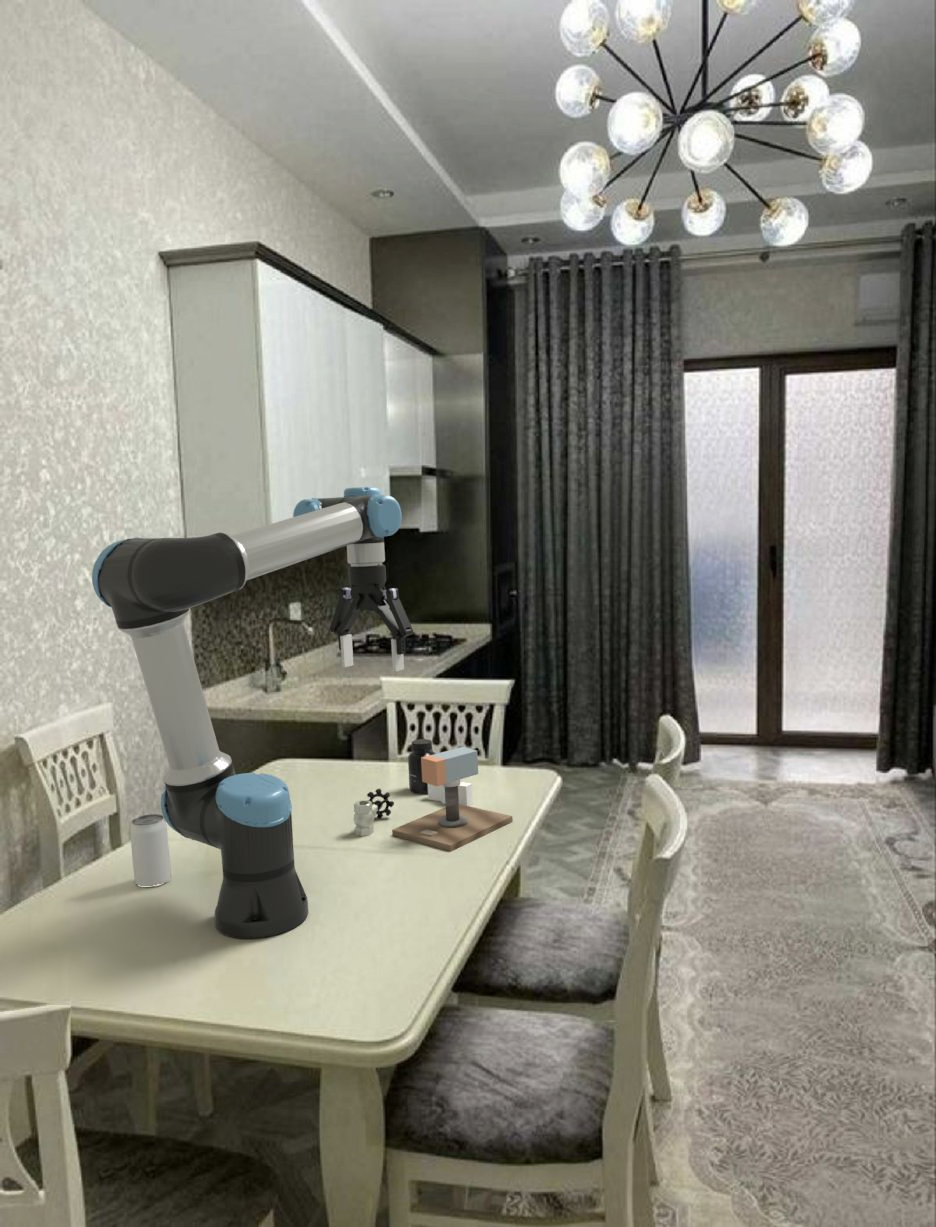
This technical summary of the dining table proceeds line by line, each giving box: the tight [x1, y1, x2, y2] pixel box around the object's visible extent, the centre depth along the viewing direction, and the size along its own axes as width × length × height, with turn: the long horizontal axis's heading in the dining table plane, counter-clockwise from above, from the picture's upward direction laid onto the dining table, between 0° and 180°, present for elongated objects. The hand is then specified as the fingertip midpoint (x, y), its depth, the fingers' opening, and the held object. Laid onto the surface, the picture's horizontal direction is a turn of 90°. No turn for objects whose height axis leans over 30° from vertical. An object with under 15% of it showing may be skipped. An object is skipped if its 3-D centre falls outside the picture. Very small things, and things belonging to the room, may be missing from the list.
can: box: [129, 813, 172, 886], centre depth 169 cm, size 6×6×12 cm
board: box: [391, 786, 514, 852], centre depth 190 cm, size 20×16×9 cm
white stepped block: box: [427, 781, 474, 807], centre depth 208 cm, size 15×11×6 cm
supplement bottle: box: [407, 738, 436, 795], centre depth 217 cm, size 7×7×12 cm
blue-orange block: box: [421, 746, 479, 787], centre depth 189 cm, size 5×11×6 cm, turn 131°
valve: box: [353, 788, 395, 837], centre depth 194 cm, size 7×7×12 cm
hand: (372, 668), depth 186 cm, fingers open, 13 cm apart
